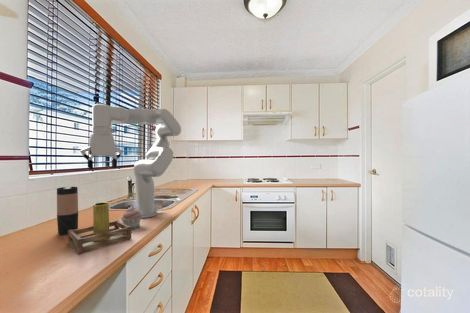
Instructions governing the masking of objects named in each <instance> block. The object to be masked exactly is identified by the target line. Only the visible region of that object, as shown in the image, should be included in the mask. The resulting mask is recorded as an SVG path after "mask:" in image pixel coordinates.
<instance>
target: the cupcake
mask: <svg viewBox="0 0 470 313" xmlns="http://www.w3.org/2000/svg"><path fill="white" fill-rule="evenodd" d="M140 215H141V213H140V212H139V211H138V210H137V209H136V208H134V206H130V207H128V208H127V209H126V211H124V212H123V215H122V217H121V218H120V219H121V223H123V224H125V225H127V226H131V230H134V229H137V228H139V227H140V224H141V223H140V222H141V219H143V218H142V216H140Z"/></svg>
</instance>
